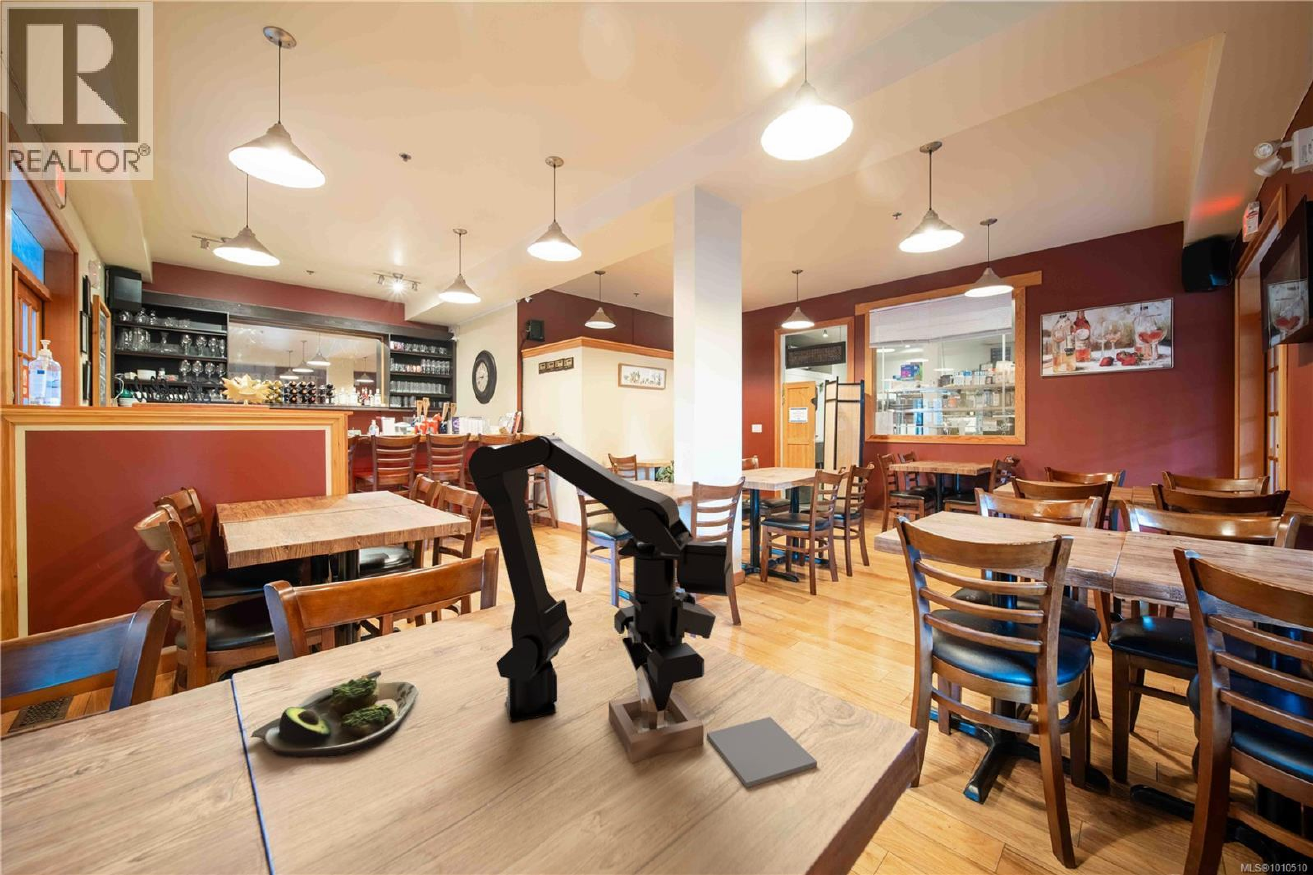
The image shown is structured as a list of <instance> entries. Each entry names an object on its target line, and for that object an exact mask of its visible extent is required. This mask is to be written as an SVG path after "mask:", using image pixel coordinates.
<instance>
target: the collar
mask: <svg viewBox="0 0 1313 875" xmlns="http://www.w3.org/2000/svg"><path fill="white" fill-rule="evenodd" d="M667 712H668V714H669V715H670V716H671V718H672V719H673V721H674V722H675V724H671V725H666V727H662V728H658V729H654V730H649V731H645V732H641V731H640V732H639V731H638V729H637V728H636V726H635V724H634V722H633V721H632V720H636V719H640V710H639V697H638V694H635V695H631V696H626V697H622V698H617V699H613V700H608V720H609V721H610V724H611V725H612V728H613V729H614V732H615V733H616V735H617V737H618V739H619V740H620V741H619V742H621V745H622V747H623V749H624V751H625V752H626V755H627V756H628V759H629V761H630V763H635V762H639V761H642V760H646V759H650V758H653V757H658V756H662V755H666V754H670V753H673V752H677V751H681V750H685V749H688V748H692V747H696V746H699V745H703V744H704V737H705V736H704V725H705V724H703V723H702V721H701V720H700V719H699V717H698V716H697V715H696V714H695V712H694V711H693V710H692V708H690V706H689V705H688V704H687V702H686V701H685V700H684V699H683V698H682V696H681V694H679V693H678V691H677V690H676V689H675V688H674V687H672V690H671V693H670V697H669V700H668V703H667Z"/></svg>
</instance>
